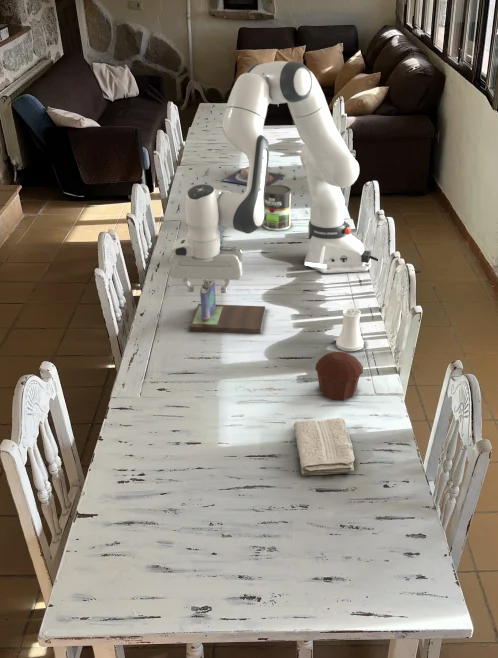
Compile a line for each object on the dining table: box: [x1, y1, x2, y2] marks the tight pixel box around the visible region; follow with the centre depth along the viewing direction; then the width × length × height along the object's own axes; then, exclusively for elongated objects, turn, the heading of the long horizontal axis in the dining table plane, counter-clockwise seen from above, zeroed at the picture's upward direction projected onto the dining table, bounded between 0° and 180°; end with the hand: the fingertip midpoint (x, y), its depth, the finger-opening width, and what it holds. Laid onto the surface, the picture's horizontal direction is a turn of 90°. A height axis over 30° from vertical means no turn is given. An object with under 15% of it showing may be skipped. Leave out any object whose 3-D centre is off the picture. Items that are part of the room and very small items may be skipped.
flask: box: [199, 279, 217, 321], centre depth 208 cm, size 9×3×11 cm, turn 170°
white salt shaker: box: [335, 307, 365, 352], centre depth 197 cm, size 8×8×10 cm
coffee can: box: [263, 184, 292, 232], centre depth 270 cm, size 10×10×14 cm
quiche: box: [222, 166, 284, 187], centre depth 321 cm, size 21×20×4 cm
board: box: [189, 303, 266, 335], centre depth 210 cm, size 20×14×2 cm
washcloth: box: [293, 417, 356, 476], centre depth 160 cm, size 12×18×3 cm, turn 7°
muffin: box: [315, 350, 364, 401], centre depth 178 cm, size 12×11×10 cm
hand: (207, 291), depth 206 cm, fingers open, 8 cm apart
